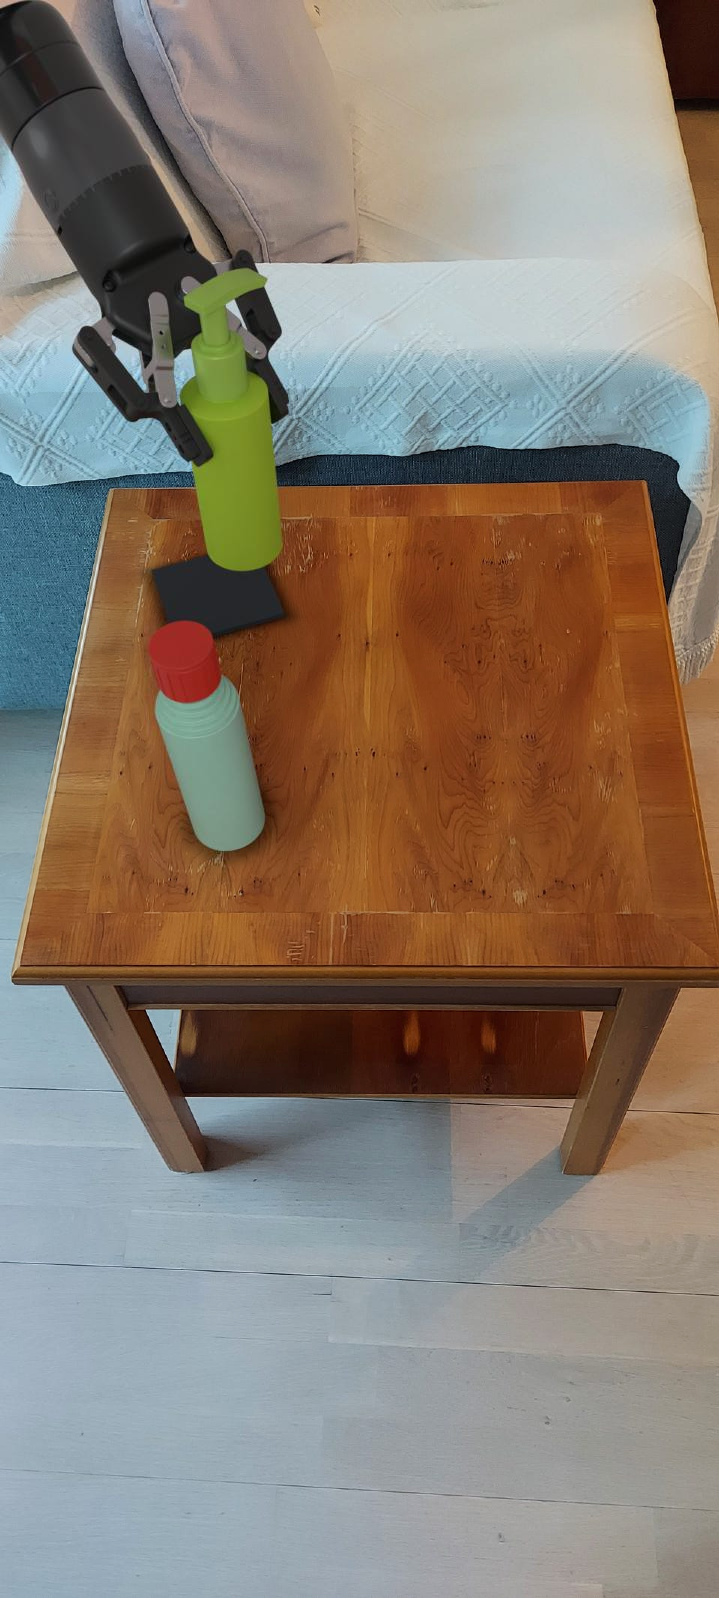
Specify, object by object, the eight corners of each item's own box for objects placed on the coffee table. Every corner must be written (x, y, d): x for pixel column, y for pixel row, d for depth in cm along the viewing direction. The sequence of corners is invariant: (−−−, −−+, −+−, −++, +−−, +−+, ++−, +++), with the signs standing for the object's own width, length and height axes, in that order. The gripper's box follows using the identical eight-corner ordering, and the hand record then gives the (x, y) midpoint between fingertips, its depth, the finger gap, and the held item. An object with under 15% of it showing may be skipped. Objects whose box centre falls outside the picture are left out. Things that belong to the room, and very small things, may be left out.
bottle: (207, 862, 75) (154, 699, 60) (183, 807, 78) (126, 638, 63) (276, 834, 76) (241, 666, 61) (249, 781, 79) (209, 608, 64)
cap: (169, 652, 65) (159, 616, 63) (229, 659, 65) (221, 624, 62) (150, 699, 63) (138, 664, 60) (211, 707, 62) (202, 672, 60)
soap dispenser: (307, 536, 78) (290, 281, 61) (242, 582, 75) (206, 328, 58) (255, 503, 80) (225, 248, 64) (190, 546, 77) (141, 291, 61)
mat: (177, 647, 88) (176, 643, 87) (152, 574, 93) (150, 569, 93) (285, 617, 90) (284, 612, 89) (254, 546, 95) (253, 541, 94)
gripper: (177, 187, 69) (302, 411, 74) (-3, 267, 64) (144, 502, 69) (210, 125, 63) (346, 376, 67) (13, 209, 58) (174, 474, 62)
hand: (243, 439), depth 68 cm, fingers closed on soap dispenser, 6 cm apart
